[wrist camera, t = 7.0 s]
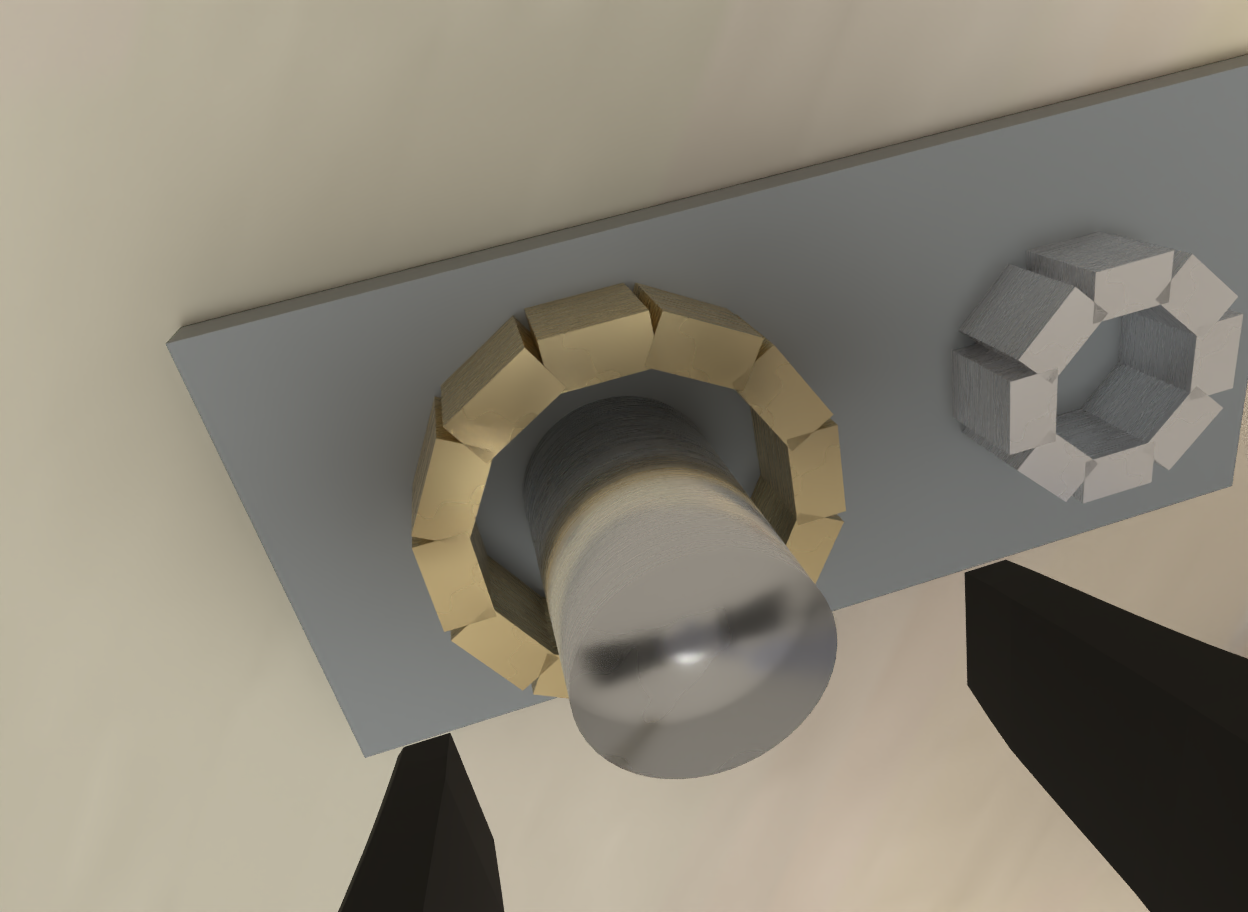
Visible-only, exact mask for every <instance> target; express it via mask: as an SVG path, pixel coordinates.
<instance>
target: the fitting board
mask: <svg viewBox="0 0 1248 912" xmlns="http://www.w3.org/2000/svg"><path fill="white" fill-rule="evenodd" d="M1096 231H1098V232H1102V233H1106V234H1110V235H1114V234H1115V235H1119V236H1123V237H1127V238H1131V239H1135V240H1139V241H1143V242H1147V243H1151V244H1155V245H1159V246H1163V247H1167V248H1171V249H1175V250H1179V251H1183V252H1187V253H1191V254H1193V255H1194V256H1195V257H1196V258H1197V259H1198V260H1200V261H1201V262H1202V263H1203V264H1204V265H1205V266H1206V267H1207V268H1208V269H1209V270H1210V271H1211V272H1212V273H1214V274H1215V275H1216V276H1217V277H1218V278H1219V279H1220V280H1221V281H1222V282H1223V283H1224V284H1225V285H1226V286H1228V287H1229V288H1230V289H1231V290H1232V291H1233V292H1234V293H1235V294H1236V295H1237V296H1238V298H1237V299H1236V300H1235V301H1234V302H1233V304H1232V305H1231V306H1230V307H1229V308H1228V309H1229V310H1232V311H1235V312H1238V313H1242V314H1243V320H1242V327H1241V334H1240V341H1239V348H1238V355H1237V362H1236V370H1235V377H1234V384H1233V388H1232V389H1228V390H1225V391H1222V392H1218V393H1215V394H1212V395H1208V396H1209V397H1211V398H1212V399H1213V400H1214V401H1215V402H1217V403H1218V404H1219V405H1220V406H1222V407H1223V409H1222V410H1221V411H1220V412H1219V413H1218V415H1217V416H1216V417H1215V418H1214V419H1213V420H1212V421H1211V423H1210V424H1209V425H1208V426H1207V427H1206V428H1205V430H1204V431H1203V432H1202V433H1201V434H1200V435H1199V436H1198V438H1197V439H1196V440H1195V441H1194V442H1193V443H1192V445H1191V446H1190V447H1189V448H1188V449H1187V450H1186V451H1185V453H1184V454H1183V455H1182V456H1181V457H1180V458H1179V460H1178V461H1177V462H1176V463H1175V464H1174V465H1173V466H1172V468H1171V469H1170V470H1168V469H1166V468H1164V467H1162V466H1160V465H1159V464H1157V463H1155V462H1153V472H1152V482H1151V483H1148V484H1145V485H1141V486H1138V487H1135V488H1132V489H1128V490H1125V491H1122V492H1119V493H1115V494H1112V495H1109V496H1106V497H1103V498H1099V499H1096V500H1093V501H1090V502H1086V503H1082V502H1080V501H1079V500H1077V499H1076V498H1074V497H1073V496H1071V497H1070V498H1069V499H1068V500H1067V502H1065V501H1064V500H1062V499H1060V498H1059V497H1057V496H1056V495H1054V494H1053V493H1051V492H1050V491H1048V490H1047V489H1045V488H1044V487H1042V486H1041V485H1039V484H1037V483H1036V482H1034V481H1033V480H1031V479H1030V478H1028V477H1027V476H1025V475H1024V474H1022V473H1021V472H1019V471H1017V470H1016V469H1015V468H1013V467H1012V466H1010V465H1009V464H1007V463H1006V462H1004V461H1003V460H1001V459H1000V458H999V457H997V456H996V455H994V454H993V453H991V452H990V451H988V450H987V449H985V448H984V447H983V446H981V445H980V444H978V443H977V442H975V441H974V440H972V439H971V438H969V437H968V436H967V435H965V434H964V433H962V432H961V431H962V429H963V428H964V427H965V425H964V424H962V423H961V422H960V421H958V420H957V419H955V418H954V417H953V381H952V350H953V349H956V348H960V347H964V346H967V345H971V344H974V343H976V342H975V341H973V340H972V339H970V338H969V337H968V336H966V335H965V334H963V333H962V332H961V331H959V329H960V327H961V326H962V325H963V323H964V322H965V321H966V319H967V318H968V317H969V315H970V314H971V313H972V311H973V310H974V309H975V307H976V306H977V305H978V303H979V302H980V301H981V299H982V298H983V297H984V295H985V294H986V293H987V291H988V290H989V289H990V287H991V286H992V285H993V283H994V282H995V281H996V279H997V278H998V277H999V275H1000V274H1001V273H1002V271H1003V270H1004V269H1005V267H1006V266H1007V265H1008V264H1011V265H1014V266H1017V267H1020V268H1022V269H1025V270H1026V251H1027V250H1031V249H1034V248H1038V247H1042V246H1045V245H1049V244H1053V243H1056V242H1060V241H1063V240H1067V239H1071V238H1074V237H1078V236H1082V235H1085V234H1089V233H1093V232H1096ZM619 283H624V284H625V285H626V286H627V287H628V288H629V289H630V290H631V291H632V292H633V289H634V286H635V283H639V284H643V285H646V286H650V287H653V288H657V289H661V290H664V291H668V292H671V293H675V294H678V295H682V296H685V297H689V298H692V299H696V300H699V301H703V302H706V303H710V304H714V305H717V306H721V307H724V308H727V309H728V310H729V311H731V312H732V313H733V314H734V315H738V316H739V317H740V318H741V319H743V320H744V321H745V322H746V323H748V324H749V325H750V326H751V327H753V328H754V329H755V330H756V331H758V332H759V333H760V334H761V335H763V336H764V337H765V338H766V339H767V340H769V341H770V342H771V343H772V344H774V345H775V347H776V348H777V349H778V350H779V351H780V352H781V354H782V355H783V356H784V357H785V358H786V359H787V361H788V362H789V363H790V364H791V365H792V366H793V368H794V369H795V370H796V371H797V372H798V374H799V375H800V376H801V377H802V378H803V379H804V381H805V382H806V383H807V384H808V385H809V386H810V388H811V389H812V390H813V391H814V392H815V394H816V395H817V396H818V397H819V398H820V399H821V401H822V402H823V403H824V404H825V405H826V406H827V408H828V409H829V410H830V411H831V412H832V413H833V415H832V416H831V417H830V418H831V419H832V420H833V421H834V422H835V423H836V424H837V425H838V434H839V444H840V454H841V465H842V475H843V485H844V496H845V506H846V511H845V512H841V513H838V514H837V515H838V516H839V517H840V518H841V519H842V520H843V521H844V523H843V525H842V527H841V529H840V532H839V534H838V536H837V538H836V540H835V543H834V545H833V547H832V549H831V551H830V553H829V556H828V558H827V560H826V562H825V564H824V567H823V569H822V571H821V573H820V575H819V578H818V580H817V582H816V584H815V585H816V586H817V587H818V589H819V590H820V591H821V593H822V594H823V596H824V598H825V599H826V601H827V602H828V604H829V607H830V609H831V611H835V610H838V609H841V608H844V607H847V606H851V605H854V604H857V603H860V602H863V601H866V600H870V599H873V598H876V597H879V596H882V595H886V594H889V593H892V592H895V591H898V590H902V589H905V588H908V587H911V586H914V585H917V584H921V583H924V582H927V581H930V580H933V579H937V578H940V577H943V576H946V575H949V574H953V573H956V572H959V571H962V570H965V569H969V568H972V567H975V566H978V565H981V564H984V563H988V562H991V561H994V560H997V559H1000V558H1004V557H1007V556H1010V555H1013V554H1016V553H1020V552H1023V551H1026V550H1029V549H1032V548H1035V547H1039V546H1042V545H1045V544H1048V543H1051V542H1055V541H1058V540H1061V539H1064V538H1067V537H1071V536H1074V535H1077V534H1080V533H1083V532H1086V531H1090V530H1093V529H1096V528H1099V527H1102V526H1106V525H1109V524H1112V523H1115V522H1118V521H1122V520H1125V519H1128V518H1131V517H1134V516H1137V515H1141V514H1144V513H1147V512H1150V511H1153V510H1157V509H1160V508H1163V507H1166V506H1169V505H1173V504H1176V503H1179V502H1182V501H1185V500H1188V499H1192V498H1195V497H1198V496H1201V495H1204V494H1208V493H1211V492H1214V491H1217V490H1220V489H1224V488H1227V487H1230V486H1232V482H1233V475H1234V468H1235V462H1236V455H1237V448H1238V441H1239V435H1240V428H1241V421H1242V415H1243V408H1244V401H1245V394H1246V388H1247V381H1248V54H1247V55H1243V56H1239V57H1236V58H1232V59H1228V60H1224V61H1220V62H1216V63H1212V64H1208V65H1204V66H1200V67H1197V68H1193V69H1189V70H1185V71H1181V72H1177V73H1173V74H1169V75H1165V76H1161V77H1157V78H1154V79H1150V80H1146V81H1142V82H1138V83H1134V84H1130V85H1126V86H1122V87H1118V88H1115V89H1111V90H1107V91H1103V92H1099V93H1095V94H1091V95H1087V96H1083V97H1079V98H1075V99H1072V100H1068V101H1064V102H1060V103H1056V104H1052V105H1048V106H1044V107H1040V108H1036V109H1032V110H1029V111H1025V112H1021V113H1017V114H1013V115H1009V116H1005V117H1001V118H997V119H993V120H990V121H986V122H982V123H978V124H974V125H970V126H966V127H962V128H958V129H954V130H950V131H947V132H943V133H939V134H935V135H931V136H927V137H923V138H919V139H915V140H911V141H907V142H904V143H900V144H896V145H892V146H888V147H884V148H880V149H876V150H872V151H868V152H865V153H861V154H857V155H853V156H849V157H845V158H841V159H837V160H833V161H829V162H825V163H822V164H818V165H814V166H810V167H806V168H802V169H798V170H794V171H790V172H786V173H782V174H779V175H775V176H771V177H767V178H763V179H759V180H755V181H751V182H747V183H743V184H740V185H736V186H732V187H728V188H724V189H720V190H716V191H712V192H708V193H704V194H700V195H697V196H693V197H689V198H685V199H681V200H677V201H673V202H669V203H665V204H661V205H657V206H654V207H650V208H646V209H642V210H638V211H634V212H630V213H626V214H622V215H618V216H615V217H611V218H607V219H603V220H599V221H595V222H591V223H587V224H583V225H579V226H575V227H572V228H568V229H564V230H560V231H556V232H552V233H548V234H544V235H540V236H536V237H533V238H529V239H525V240H521V241H517V242H513V243H509V244H505V245H501V246H497V247H493V248H490V249H486V250H482V251H478V252H474V253H470V254H466V255H462V256H458V257H454V258H450V259H447V260H443V261H439V262H435V263H431V264H427V265H423V266H419V267H415V268H411V269H408V270H404V271H400V272H396V273H392V274H388V275H384V276H380V277H376V278H372V279H368V280H365V281H361V282H357V283H353V284H349V285H345V286H341V287H337V288H333V289H329V290H325V291H322V292H318V293H314V294H310V295H306V296H302V297H298V298H294V299H290V300H286V301H283V302H279V303H275V304H271V305H267V306H263V307H259V308H255V309H251V310H247V311H243V312H240V313H236V314H232V315H228V316H224V317H220V318H216V319H212V320H208V321H204V322H200V323H197V324H193V325H189V326H185V327H181V328H180V329H179V330H178V331H177V332H176V333H175V334H174V335H173V336H172V338H171V339H170V340H169V341H168V342H167V343H166V346H167V348H168V350H169V352H170V354H171V356H172V358H173V360H174V362H175V364H176V366H177V369H178V371H179V373H180V375H181V377H182V379H183V381H184V383H185V385H186V387H187V389H188V391H189V393H190V396H191V398H192V400H193V402H194V404H195V406H196V408H197V410H198V412H199V414H200V416H201V418H202V420H203V423H204V425H205V427H206V429H207V431H208V433H209V435H210V437H211V439H212V441H213V443H214V445H215V447H216V449H217V452H218V454H219V456H220V458H221V460H222V462H223V464H224V466H225V468H226V470H227V472H228V474H229V476H230V479H231V481H232V483H233V485H234V487H235V489H236V491H237V493H238V495H239V497H240V499H241V501H242V503H243V506H244V508H245V510H246V512H247V514H248V516H249V518H250V520H251V522H252V524H253V526H254V528H255V530H256V533H257V535H258V537H259V539H260V541H261V543H262V545H263V547H264V549H265V551H266V553H267V555H268V557H269V559H270V562H271V564H272V566H273V568H274V570H275V572H276V574H277V576H278V578H279V580H280V582H281V584H282V586H283V589H284V591H285V593H286V595H287V597H288V599H289V601H290V603H291V605H292V607H293V609H294V611H295V613H296V616H297V618H298V620H299V622H300V624H301V626H302V628H303V630H304V632H305V634H306V636H307V638H308V640H309V643H310V645H311V647H312V649H313V651H314V653H315V655H316V657H317V659H318V661H319V663H320V665H321V667H322V669H323V672H324V674H325V676H326V678H327V680H328V682H329V684H330V686H331V688H332V690H333V692H334V694H335V696H336V699H337V701H338V703H339V705H340V707H341V709H342V711H343V713H344V715H345V717H346V719H347V721H348V723H349V726H350V728H351V730H352V732H353V734H354V736H355V738H356V740H357V742H358V744H359V746H360V748H361V750H362V752H363V755H364V757H365V758H366V757H369V756H372V755H375V754H379V753H382V752H385V751H388V750H391V749H395V748H398V747H401V746H404V745H407V744H411V743H414V742H417V741H420V740H423V739H427V738H430V737H433V736H436V735H439V734H442V733H446V732H449V731H452V730H455V729H458V728H462V727H465V726H468V725H471V724H474V723H478V722H481V721H484V720H487V719H490V718H493V717H497V716H500V715H503V714H506V713H509V712H513V711H516V710H519V709H522V708H525V707H529V706H532V705H535V704H538V703H541V702H544V701H548V700H551V699H554V698H557V697H552V696H543V695H534V694H533V691H532V685H531V684H530V685H529V686H528V687H526V688H525V689H524V690H521V689H520V688H518V687H517V686H515V685H514V684H512V683H511V682H510V681H508V680H507V679H505V678H504V677H502V676H501V675H500V674H498V673H497V672H495V671H494V670H492V669H491V668H490V667H488V666H487V665H485V664H484V663H482V662H481V661H479V660H478V659H477V658H475V657H474V656H472V655H471V654H469V653H468V652H467V651H465V650H464V649H462V648H461V647H459V646H458V645H457V644H455V643H454V642H452V641H451V631H446V632H444V630H443V628H442V625H441V623H440V620H439V617H438V615H437V612H436V610H435V607H434V604H433V602H432V599H431V597H430V594H429V591H428V589H427V586H426V584H425V581H424V578H423V576H422V573H421V571H420V568H419V565H418V563H417V560H416V558H415V555H414V552H413V550H412V537H411V522H412V485H413V481H414V477H415V473H416V469H417V465H418V461H419V457H420V453H421V449H422V445H423V441H424V437H425V433H426V429H427V425H428V421H429V417H430V413H431V409H432V405H433V400H434V396H436V397H440V398H441V385H442V384H443V383H444V382H445V381H446V380H447V379H448V378H449V377H450V376H451V375H452V374H453V373H454V372H455V371H456V370H457V369H458V368H459V367H460V366H461V365H462V364H463V363H464V362H465V361H466V360H467V359H468V358H470V357H471V356H472V355H473V354H474V353H475V352H476V351H477V350H478V349H479V348H480V347H481V346H482V345H483V344H484V343H485V342H486V341H487V340H488V339H489V338H490V337H491V336H492V335H493V334H494V333H495V332H496V331H497V330H498V329H499V328H500V327H501V326H502V325H503V324H504V323H505V322H506V321H507V320H508V319H509V318H510V317H511V316H512V315H513V316H515V317H516V318H517V319H518V320H519V321H520V322H521V323H522V324H523V325H524V326H525V327H526V328H527V329H528V330H529V331H530V329H529V325H528V321H527V318H526V314H525V310H524V309H525V308H529V307H532V306H536V305H540V304H544V303H547V302H551V301H555V300H559V299H563V298H566V297H570V296H574V295H578V294H581V293H585V292H589V291H593V290H597V289H600V288H604V287H608V286H612V285H615V284H619ZM1120 325H1121V316H1119V317H1116V318H1112V319H1109V320H1105V321H1102V322H1101V323H1100V324H1099V325H1098V327H1097V328H1096V329H1095V330H1094V332H1093V333H1092V334H1091V335H1090V337H1089V338H1088V339H1087V340H1086V342H1085V343H1084V344H1083V345H1082V347H1081V348H1080V349H1079V351H1078V352H1077V353H1076V354H1075V356H1074V357H1073V358H1072V359H1071V361H1070V362H1069V363H1068V364H1067V366H1066V367H1065V368H1064V369H1063V371H1062V372H1061V373H1060V374H1059V376H1058V384H1057V412H1056V415H1058V414H1061V413H1065V412H1068V411H1072V410H1075V409H1078V408H1081V407H1082V405H1083V404H1084V403H1085V402H1086V401H1087V399H1088V398H1089V397H1090V396H1091V394H1092V393H1093V392H1094V391H1095V389H1096V388H1097V387H1098V386H1099V385H1100V383H1101V382H1102V381H1103V380H1104V378H1105V377H1106V376H1107V375H1108V374H1109V372H1110V371H1111V370H1112V369H1113V367H1114V366H1115V365H1116V364H1117V363H1118V354H1119V340H1120ZM619 396H638V397H644V398H650V399H653V400H657V401H660V402H663V403H665V404H667V405H670V406H672V407H673V408H675V409H677V410H678V411H680V412H681V413H683V414H684V415H685V416H686V417H687V418H689V419H690V420H691V421H692V422H693V424H694V425H695V426H696V427H697V428H698V429H699V431H700V432H701V433H702V435H703V436H704V437H705V439H706V440H707V441H708V443H709V444H710V445H711V447H712V448H713V449H714V451H715V452H716V453H717V455H718V456H719V457H720V459H721V460H722V461H723V463H724V464H725V465H726V467H727V468H728V469H729V471H730V472H731V473H732V475H733V476H734V477H735V479H736V480H737V481H738V482H739V484H740V485H741V486H742V488H743V489H744V490H745V492H746V493H747V494H748V496H749V497H750V498H751V496H752V493H753V491H754V489H755V486H756V484H757V481H758V479H759V476H760V469H759V462H758V455H757V449H756V442H755V435H754V428H753V422H752V415H751V408H750V406H749V405H748V404H747V403H746V402H745V401H744V400H743V398H742V397H741V396H740V395H739V394H738V393H737V392H736V391H735V390H734V389H731V388H727V387H723V386H719V385H715V384H711V383H707V382H703V381H699V380H695V379H691V378H687V377H683V376H679V375H675V374H671V373H667V372H663V371H659V370H655V369H649V370H645V371H641V372H638V373H634V374H631V375H627V376H623V377H620V378H616V379H612V380H609V381H605V382H602V383H598V384H594V385H591V386H587V387H583V388H580V389H576V390H573V391H569V392H565V393H562V394H560V395H559V396H558V397H557V398H556V399H555V400H553V401H552V402H551V403H550V404H549V405H548V406H547V407H546V408H545V409H544V410H543V411H542V412H541V413H540V414H539V415H538V416H537V417H536V418H535V419H533V420H532V421H531V422H530V423H529V424H528V425H527V426H526V427H525V428H524V429H523V430H522V431H521V432H520V433H519V434H518V435H517V436H516V437H515V438H513V439H512V440H511V441H510V442H509V443H508V444H507V445H506V446H505V447H504V448H503V449H502V450H501V451H500V452H499V453H498V454H497V455H496V456H495V457H493V459H492V463H491V466H490V470H489V473H488V477H487V480H486V484H485V487H484V491H483V494H482V498H481V502H480V505H479V509H478V512H477V516H476V519H475V520H476V523H477V526H478V529H479V532H480V535H481V538H482V541H483V543H484V546H485V549H486V552H487V555H489V556H490V557H491V558H492V559H494V560H495V561H496V562H498V563H499V564H500V565H501V566H503V567H504V568H505V569H507V570H508V571H509V572H510V573H512V574H513V575H514V576H516V577H517V578H518V579H519V580H521V581H522V582H523V583H525V584H526V585H527V586H528V587H530V588H531V589H532V590H534V591H535V592H536V593H537V594H539V595H540V596H541V597H545V593H544V588H543V584H542V580H541V575H540V571H539V567H538V562H537V558H536V554H535V549H534V545H533V541H532V536H531V532H530V528H529V523H528V519H527V515H526V510H525V506H524V497H523V487H524V478H525V473H526V469H527V466H528V463H529V461H530V458H531V456H532V454H533V452H534V450H535V448H536V447H537V445H538V444H539V442H540V441H541V439H542V438H543V437H544V435H545V434H546V433H547V432H548V431H549V430H550V429H551V428H552V427H553V426H554V425H555V424H556V423H557V422H558V421H560V420H561V419H562V418H563V417H565V416H566V415H568V414H569V413H571V412H572V411H574V410H576V409H578V408H580V407H582V406H584V405H586V404H589V403H592V402H595V401H597V400H602V399H606V398H610V397H619Z"/></svg>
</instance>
